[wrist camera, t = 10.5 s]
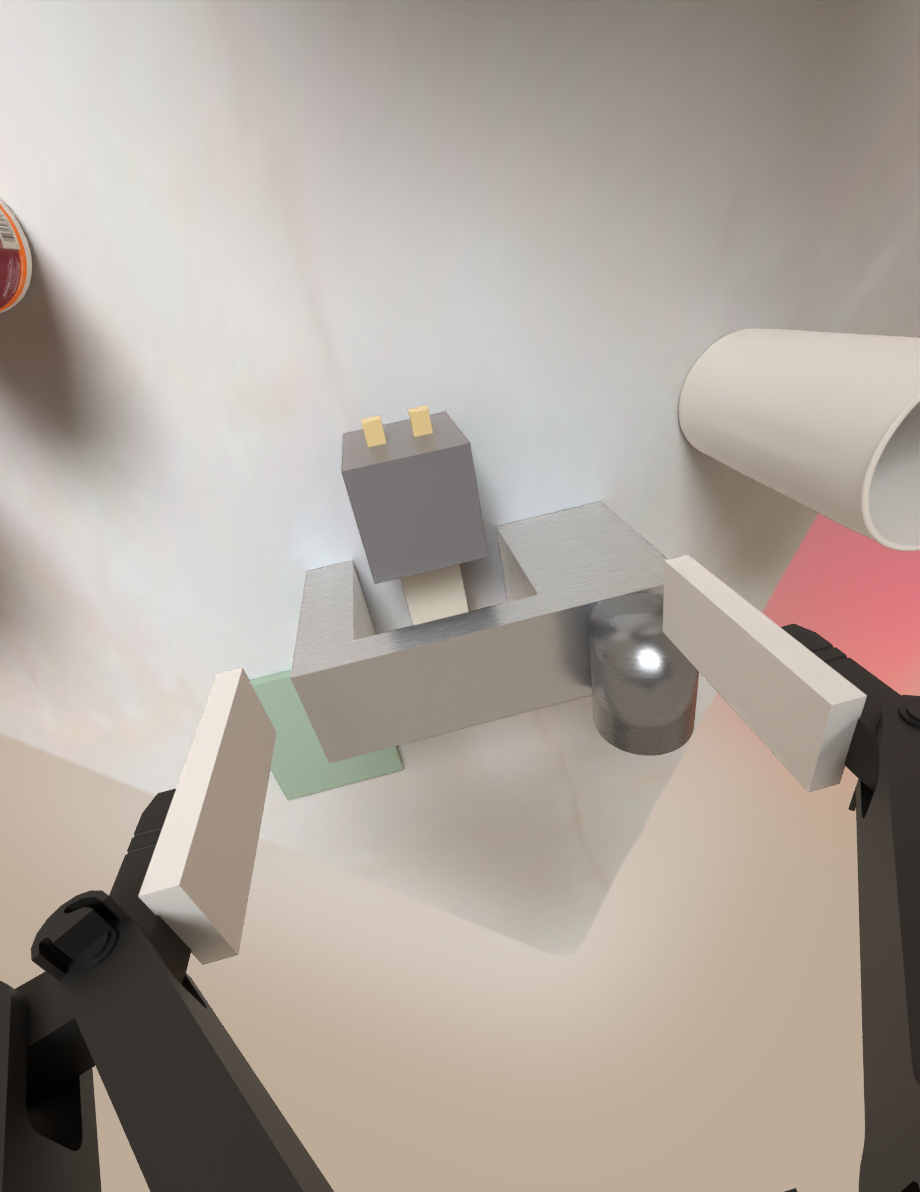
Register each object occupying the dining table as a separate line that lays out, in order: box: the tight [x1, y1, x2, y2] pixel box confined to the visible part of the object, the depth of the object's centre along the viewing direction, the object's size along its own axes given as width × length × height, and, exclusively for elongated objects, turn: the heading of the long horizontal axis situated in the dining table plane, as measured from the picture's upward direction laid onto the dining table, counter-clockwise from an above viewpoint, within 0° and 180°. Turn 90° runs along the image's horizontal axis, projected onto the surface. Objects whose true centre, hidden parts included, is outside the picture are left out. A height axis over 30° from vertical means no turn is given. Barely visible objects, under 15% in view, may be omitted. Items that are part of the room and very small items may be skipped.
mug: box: [679, 328, 920, 551], centre depth 22 cm, size 10×7×12 cm, turn 93°
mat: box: [249, 670, 403, 800], centre depth 33 cm, size 10×8×1 cm
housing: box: [291, 502, 699, 764], centre depth 24 cm, size 5×16×13 cm, turn 100°
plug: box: [341, 405, 488, 625], centre depth 26 cm, size 15×5×6 cm, turn 10°
